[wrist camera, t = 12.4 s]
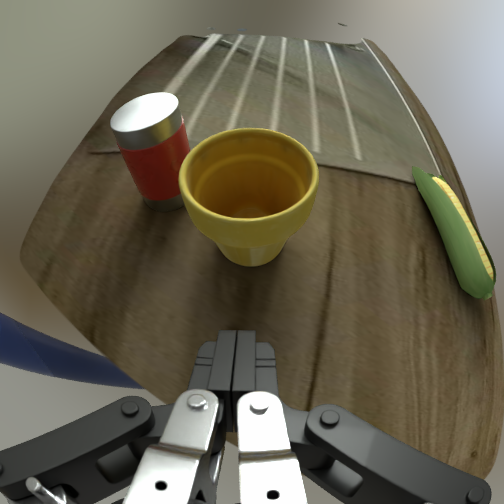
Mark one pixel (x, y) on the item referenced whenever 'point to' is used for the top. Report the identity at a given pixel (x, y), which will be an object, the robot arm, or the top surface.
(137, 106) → the tin can
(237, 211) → the flower pot
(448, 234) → the edible corn
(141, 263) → the top surface
